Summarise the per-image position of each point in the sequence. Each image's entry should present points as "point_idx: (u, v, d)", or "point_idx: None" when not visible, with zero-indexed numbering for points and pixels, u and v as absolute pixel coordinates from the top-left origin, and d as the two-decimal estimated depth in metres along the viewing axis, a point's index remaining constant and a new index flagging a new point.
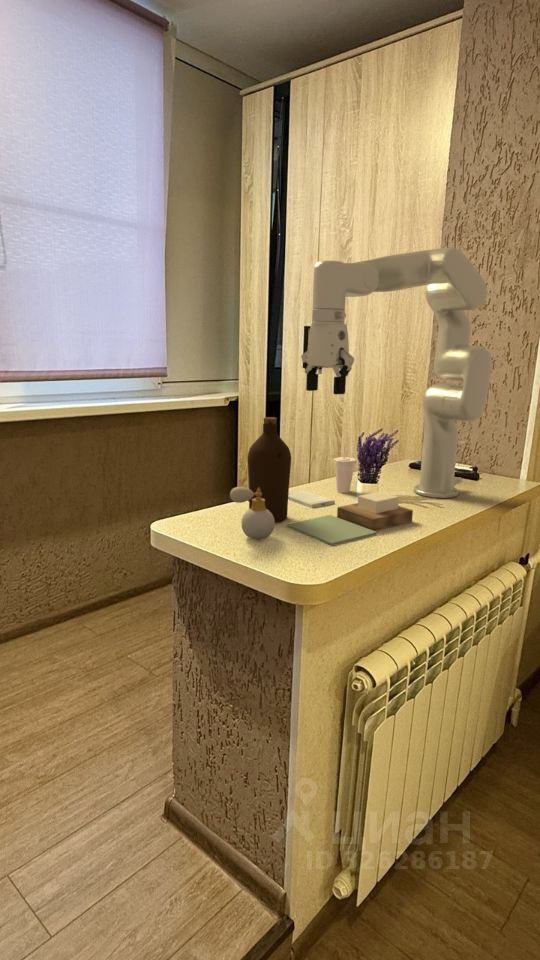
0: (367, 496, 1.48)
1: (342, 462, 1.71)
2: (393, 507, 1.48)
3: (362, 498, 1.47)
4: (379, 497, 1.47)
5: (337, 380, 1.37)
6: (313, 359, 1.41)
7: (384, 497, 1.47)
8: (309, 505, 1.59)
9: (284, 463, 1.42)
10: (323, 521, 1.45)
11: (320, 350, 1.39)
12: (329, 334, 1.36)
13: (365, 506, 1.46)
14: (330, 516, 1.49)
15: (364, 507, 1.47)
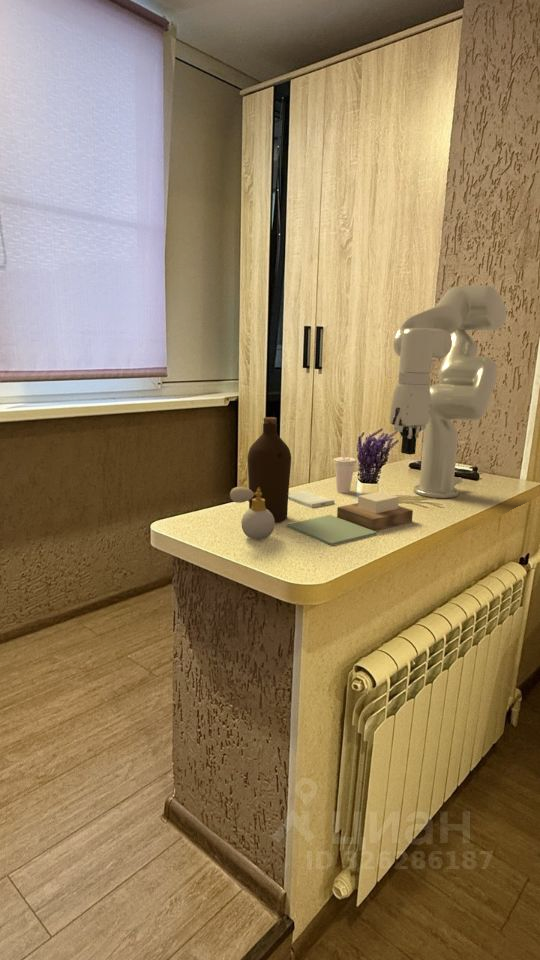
0: (367, 496, 1.48)
1: (342, 462, 1.71)
2: (393, 507, 1.48)
3: (362, 498, 1.47)
4: (379, 497, 1.47)
5: None
6: (411, 420, 1.46)
7: (384, 497, 1.47)
8: (309, 505, 1.59)
9: (284, 463, 1.42)
10: (323, 521, 1.45)
11: (420, 410, 1.47)
12: (428, 395, 1.48)
13: (365, 506, 1.46)
14: (330, 516, 1.49)
15: (364, 507, 1.47)
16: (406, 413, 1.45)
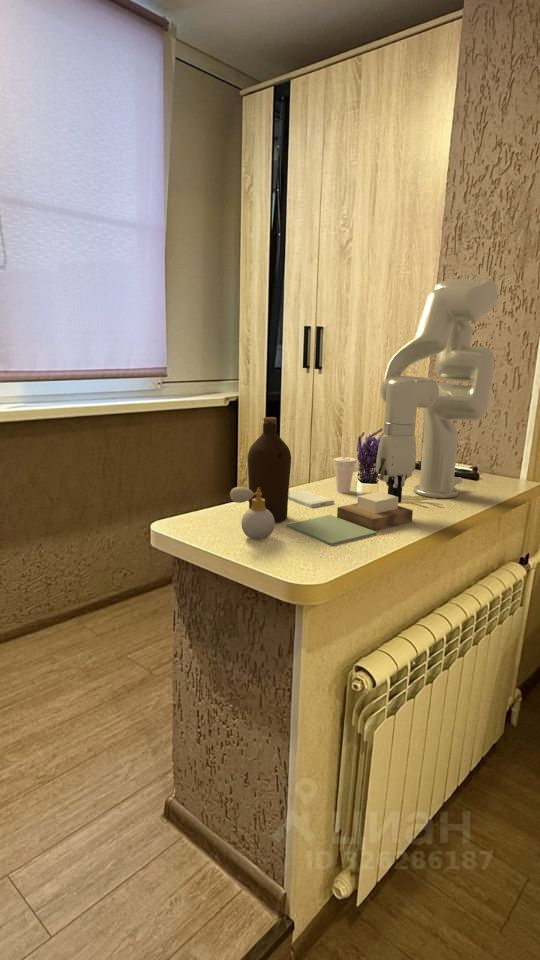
0: (366, 496, 1.48)
1: (342, 462, 1.71)
2: (392, 507, 1.47)
3: (361, 498, 1.47)
4: (378, 497, 1.47)
5: None
6: (397, 470, 1.47)
7: (383, 497, 1.47)
8: (308, 505, 1.59)
9: (284, 463, 1.42)
10: (323, 521, 1.45)
11: (405, 460, 1.48)
12: (413, 445, 1.48)
13: (365, 507, 1.46)
14: (330, 516, 1.49)
15: (363, 507, 1.47)
16: (391, 464, 1.45)
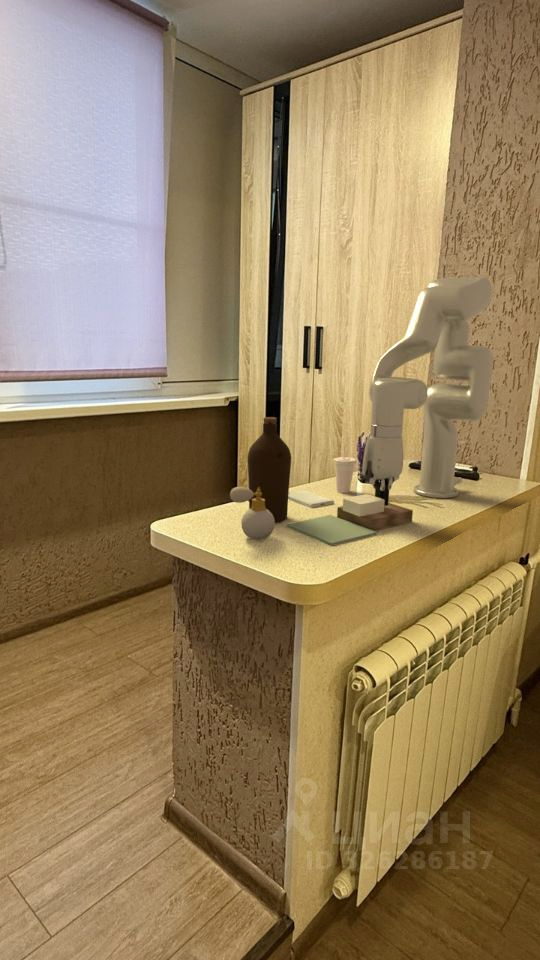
0: (352, 499, 1.45)
1: (342, 462, 1.71)
2: (378, 510, 1.45)
3: (347, 501, 1.44)
4: (364, 500, 1.44)
5: None
6: (383, 473, 1.44)
7: (369, 500, 1.45)
8: (308, 505, 1.59)
9: (284, 463, 1.42)
10: (323, 521, 1.45)
11: (392, 463, 1.45)
12: (400, 447, 1.46)
13: (350, 509, 1.44)
14: (330, 516, 1.49)
15: (349, 510, 1.44)
16: (378, 466, 1.43)
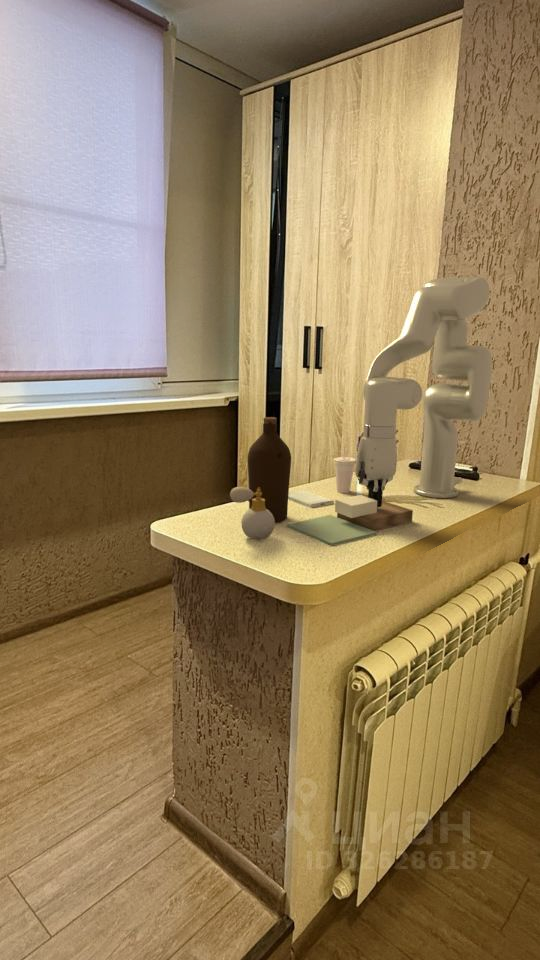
0: (344, 500, 1.44)
1: (342, 462, 1.71)
2: (370, 511, 1.43)
3: (339, 502, 1.43)
4: (356, 501, 1.43)
5: None
6: (376, 474, 1.43)
7: (362, 501, 1.43)
8: (308, 505, 1.59)
9: (284, 463, 1.42)
10: (323, 521, 1.45)
11: (386, 463, 1.44)
12: (394, 447, 1.44)
13: (342, 511, 1.43)
14: (330, 516, 1.49)
15: (341, 511, 1.43)
16: (371, 467, 1.41)
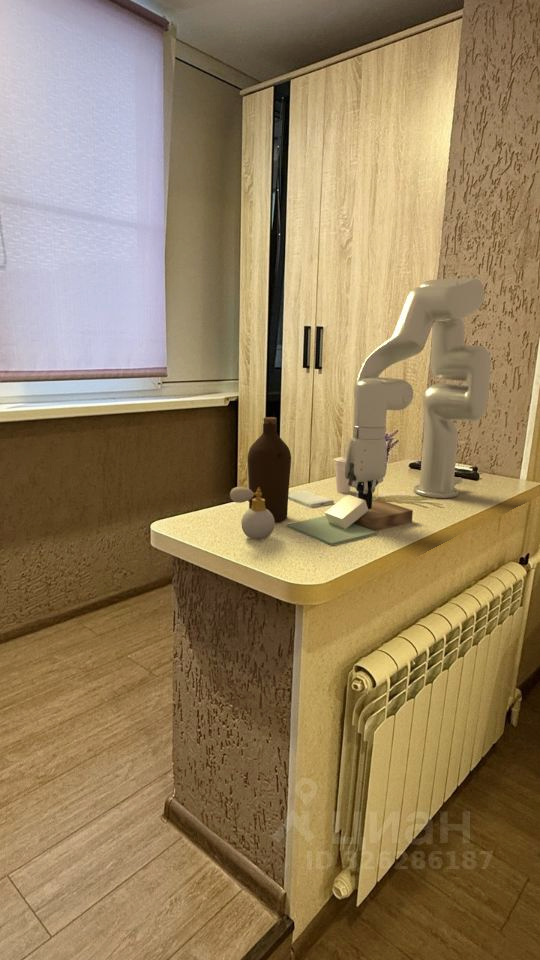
0: (333, 510, 1.43)
1: (342, 462, 1.71)
2: (362, 512, 1.42)
3: (329, 514, 1.42)
4: (345, 508, 1.42)
5: None
6: (366, 475, 1.41)
7: (350, 506, 1.41)
8: (308, 505, 1.59)
9: (284, 463, 1.42)
10: (323, 521, 1.45)
11: (375, 465, 1.42)
12: (384, 449, 1.42)
13: (334, 522, 1.42)
14: None
15: (333, 522, 1.42)
16: (360, 469, 1.39)
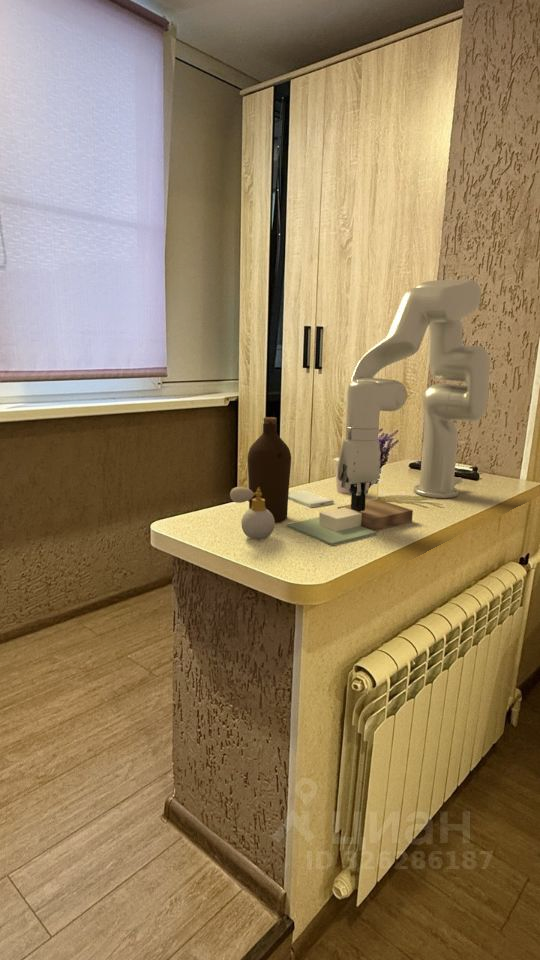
0: (329, 513, 1.42)
1: None
2: (355, 524, 1.41)
3: (323, 515, 1.41)
4: (341, 514, 1.41)
5: None
6: (359, 477, 1.39)
7: (346, 514, 1.41)
8: (308, 505, 1.59)
9: (284, 463, 1.42)
10: None
11: (369, 467, 1.40)
12: (377, 450, 1.41)
13: (326, 524, 1.40)
14: None
15: (325, 524, 1.41)
16: (353, 471, 1.38)
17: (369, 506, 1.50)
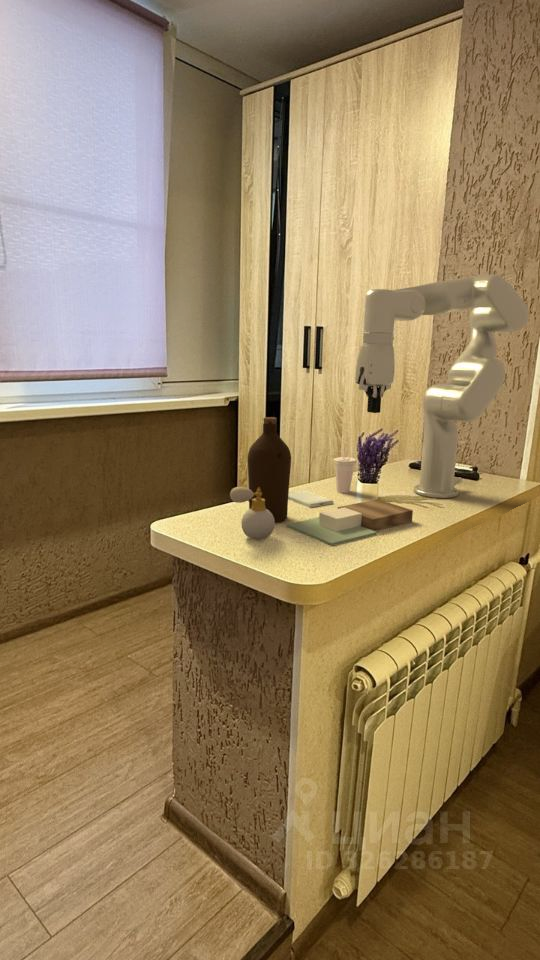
0: (329, 513, 1.42)
1: (342, 462, 1.71)
2: (355, 524, 1.41)
3: (323, 515, 1.41)
4: (341, 514, 1.41)
5: None
6: (375, 379, 1.52)
7: (346, 514, 1.41)
8: (307, 505, 1.59)
9: (284, 463, 1.42)
10: None
11: (384, 370, 1.53)
12: (391, 355, 1.53)
13: (326, 524, 1.40)
14: None
15: (325, 524, 1.41)
16: (370, 372, 1.50)
17: (369, 506, 1.50)
